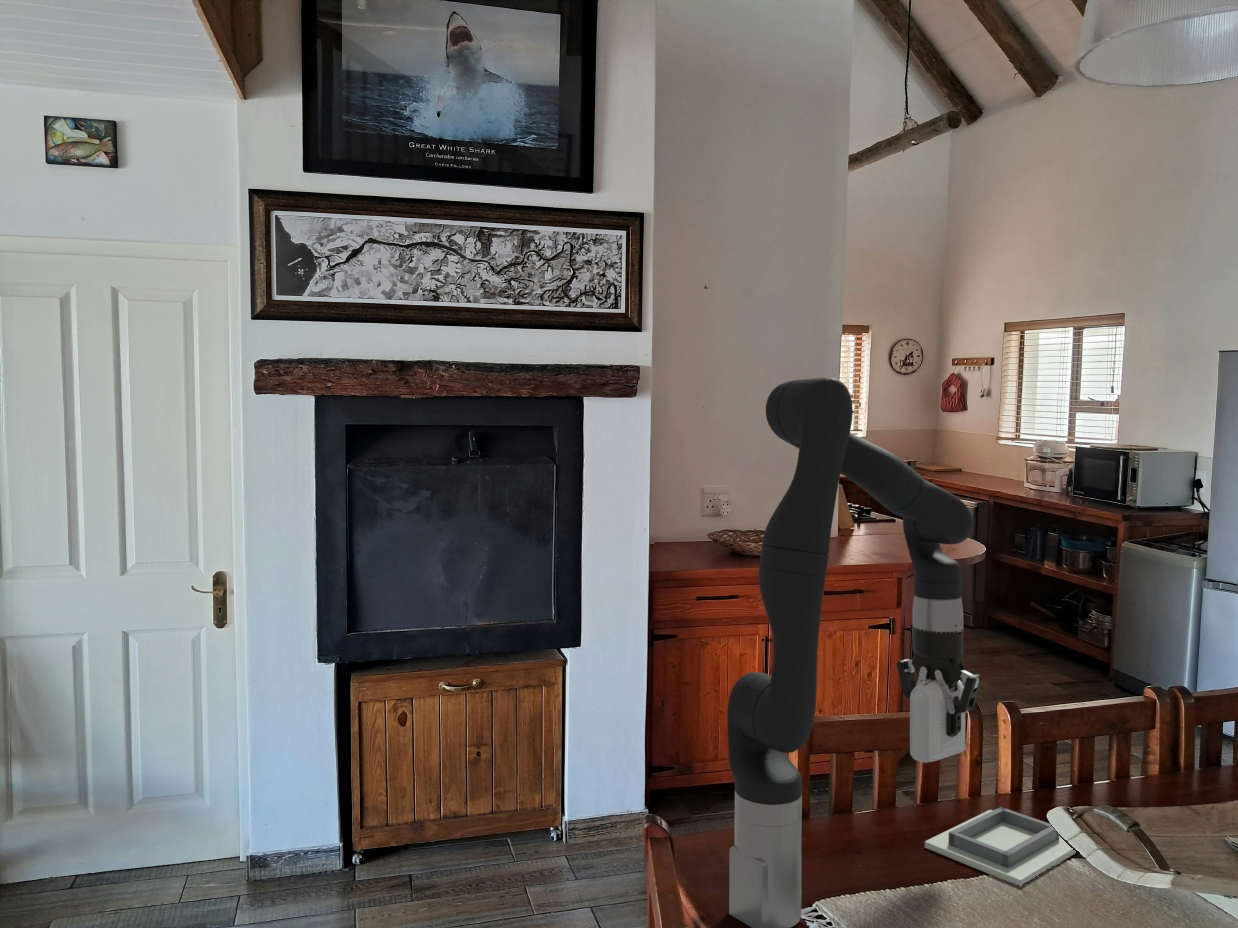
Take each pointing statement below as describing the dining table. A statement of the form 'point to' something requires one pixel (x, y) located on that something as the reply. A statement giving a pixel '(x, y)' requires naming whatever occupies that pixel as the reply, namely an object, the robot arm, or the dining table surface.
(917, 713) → the grey rounded block
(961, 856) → the dock
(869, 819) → the dining table surface
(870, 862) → the dining table surface
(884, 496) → the robot arm
